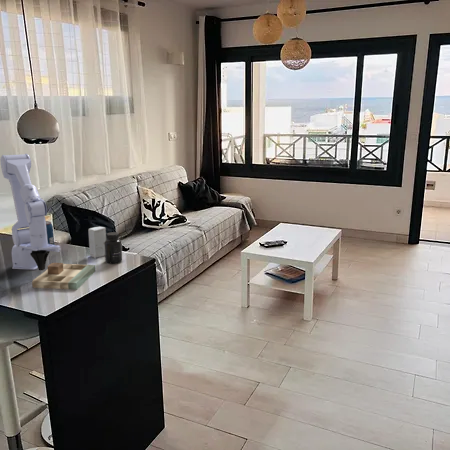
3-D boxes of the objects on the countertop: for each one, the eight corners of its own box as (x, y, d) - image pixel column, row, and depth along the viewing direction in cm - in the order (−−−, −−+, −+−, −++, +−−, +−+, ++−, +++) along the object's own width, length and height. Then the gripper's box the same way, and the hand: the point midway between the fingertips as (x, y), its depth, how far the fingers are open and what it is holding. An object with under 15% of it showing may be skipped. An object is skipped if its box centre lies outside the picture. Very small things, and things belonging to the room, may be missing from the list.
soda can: (34, 250, 197) (31, 223, 194) (46, 245, 204) (44, 220, 200) (46, 252, 195) (44, 225, 192) (58, 247, 201) (55, 221, 198)
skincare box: (96, 258, 188) (94, 230, 185) (89, 256, 190) (87, 228, 187) (107, 254, 192) (106, 227, 189) (101, 252, 195) (99, 225, 192)
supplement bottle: (118, 265, 180) (116, 236, 177) (102, 263, 181) (100, 235, 178) (125, 259, 187) (123, 231, 183) (109, 258, 188) (108, 230, 185)
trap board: (32, 287, 157) (31, 281, 156) (55, 269, 174) (55, 263, 174) (76, 289, 156) (76, 282, 155) (95, 271, 173) (95, 265, 173)
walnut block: (48, 274, 163) (47, 266, 162) (53, 270, 167) (52, 262, 166) (58, 274, 163) (58, 266, 162) (63, 270, 166) (62, 263, 166)
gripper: (13, 236, 158) (17, 272, 162) (52, 237, 157) (56, 274, 160) (23, 231, 165) (27, 265, 168) (61, 232, 164) (64, 267, 167)
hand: (41, 269), depth 165 cm, fingers closed
